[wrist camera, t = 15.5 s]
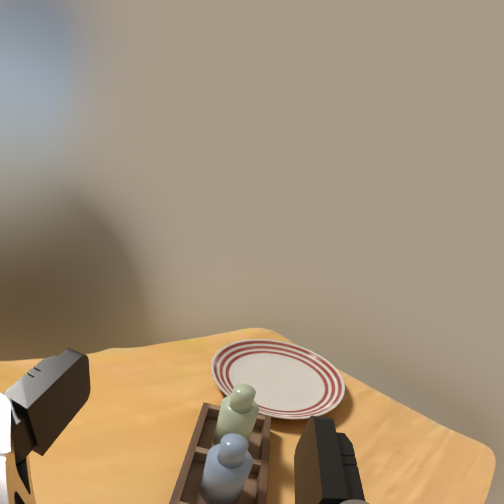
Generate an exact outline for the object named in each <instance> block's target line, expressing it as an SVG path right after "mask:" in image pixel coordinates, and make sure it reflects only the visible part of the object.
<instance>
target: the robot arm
mask: <svg viewBox="0 0 504 504" xmlns="http://www.w3.org/2000/svg"><path fill="white" fill-rule="evenodd" d="M89 394H90V375H89V360H88V357H87V355H85V354H82V353H80V352H77V351H75V350H72V349H70V348H68V349H66V350H65V351H64V352H62V353H61V354H60V355H59V356H58V357H56V356H52V357H49V358H46V359H43V360H42V361H40V362H39V363H38V364H37V365H36V366H34V368H32V369H31V370H30V371H28V372H27V374H25V375H24V376H22V377H21V378H20V379H19V380H18V381H17V382H15V383H14V384H13V385H12V386H11V387H10V388H8V389H7V390H6V391H5V392H4V393H3V394H0V504H36V502H35V497H34V492H33V485H32V478H31V471H30V462H29V457H28V454H29V453H30V452H31V451H32V450H33V451H35V452H36V453H38V454H40V455H41V456H43V455H44V454H45V452H46V451H47V450H48V449H49V447H50V446H51V445H52V444H53V442H54V441H55V440H56V439H57V437H58V436H59V435H60V434H61V432H62V431H63V430H64V429H65V427H66V426H67V425H68V424H69V422H70V421H71V420H72V419H73V418H74V416H75V415H76V414H77V413H78V411H79V410H80V409H81V408H82V407H83V405H84V404H85V403H86V401H87V400H88V397H89ZM294 472H295V504H369V503H367V502H366V501H365V498H364V493H363V489H362V484H361V480H360V475H359V471H358V466H357V462H356V457H355V453H354V449H353V445H352V443H351V441H350V440H349V439H348V437H347V436H346V435H345V433H336V429H335V424H334V420H333V418H329V417H321V416H313V415H312V416H310V418H309V419H308V422H307V424H306V426H305V428H304V431H303V433H302V435H301V437H300V439H299V442H298V444H297V446H296V450H295V456H294Z"/></svg>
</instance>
